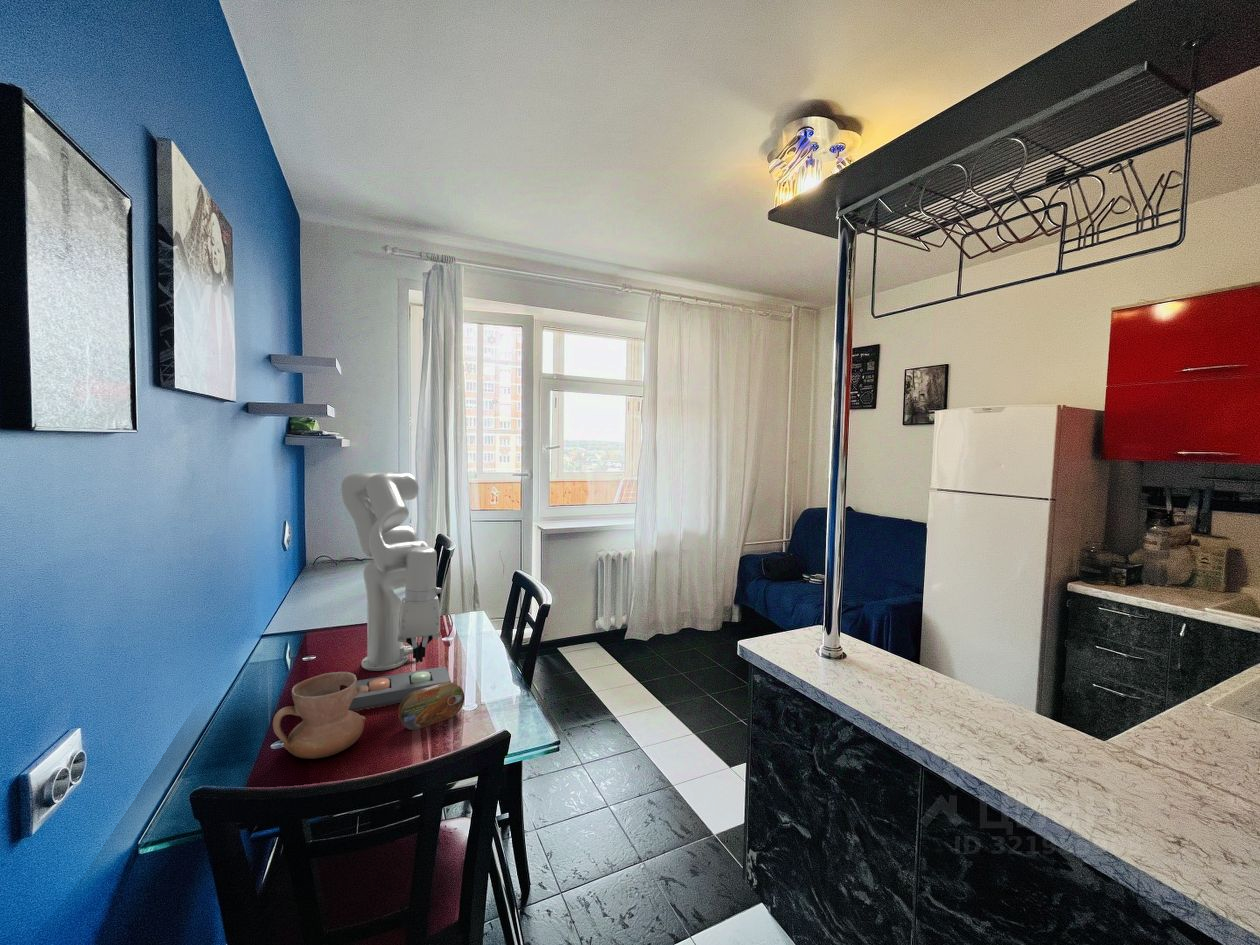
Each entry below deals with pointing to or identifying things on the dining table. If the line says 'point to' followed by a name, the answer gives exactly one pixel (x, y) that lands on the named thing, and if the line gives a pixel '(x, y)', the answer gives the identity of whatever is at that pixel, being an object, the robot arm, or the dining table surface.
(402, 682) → the button panel
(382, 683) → the terracotta button
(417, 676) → the sage button
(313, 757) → the ceramic jug
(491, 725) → the dining table surface
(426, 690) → the tin
